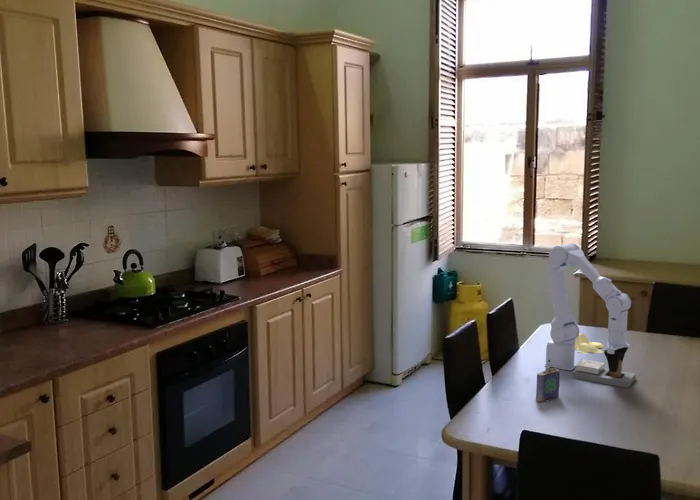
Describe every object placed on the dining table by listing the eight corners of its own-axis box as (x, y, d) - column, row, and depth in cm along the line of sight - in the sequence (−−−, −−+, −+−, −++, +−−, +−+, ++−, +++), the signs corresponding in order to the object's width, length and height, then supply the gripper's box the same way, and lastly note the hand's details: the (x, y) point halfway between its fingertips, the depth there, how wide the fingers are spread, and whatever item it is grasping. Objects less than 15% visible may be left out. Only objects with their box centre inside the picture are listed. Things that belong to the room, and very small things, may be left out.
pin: (607, 381, 226) (608, 361, 225) (609, 377, 230) (610, 357, 228) (619, 383, 224) (620, 363, 223) (622, 379, 227) (623, 359, 226)
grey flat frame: (572, 377, 230) (573, 371, 230) (581, 369, 238) (582, 364, 238) (628, 387, 220) (628, 382, 219) (635, 379, 228) (635, 373, 227)
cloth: (546, 350, 262) (547, 335, 261) (561, 339, 277) (562, 324, 276) (606, 360, 249) (606, 344, 248) (618, 348, 264) (619, 332, 263)
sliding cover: (575, 370, 230) (576, 364, 230) (582, 364, 236) (582, 359, 236) (598, 374, 226) (598, 368, 226) (604, 368, 232) (604, 362, 232)
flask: (539, 403, 208) (541, 369, 206) (532, 400, 210) (534, 367, 208) (560, 397, 212) (562, 364, 211) (553, 394, 215) (555, 362, 213)
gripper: (624, 337, 216) (622, 377, 218) (635, 327, 228) (633, 365, 230) (601, 333, 220) (599, 373, 222) (613, 324, 232) (611, 361, 234)
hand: (615, 369), depth 226 cm, fingers open, 5 cm apart
